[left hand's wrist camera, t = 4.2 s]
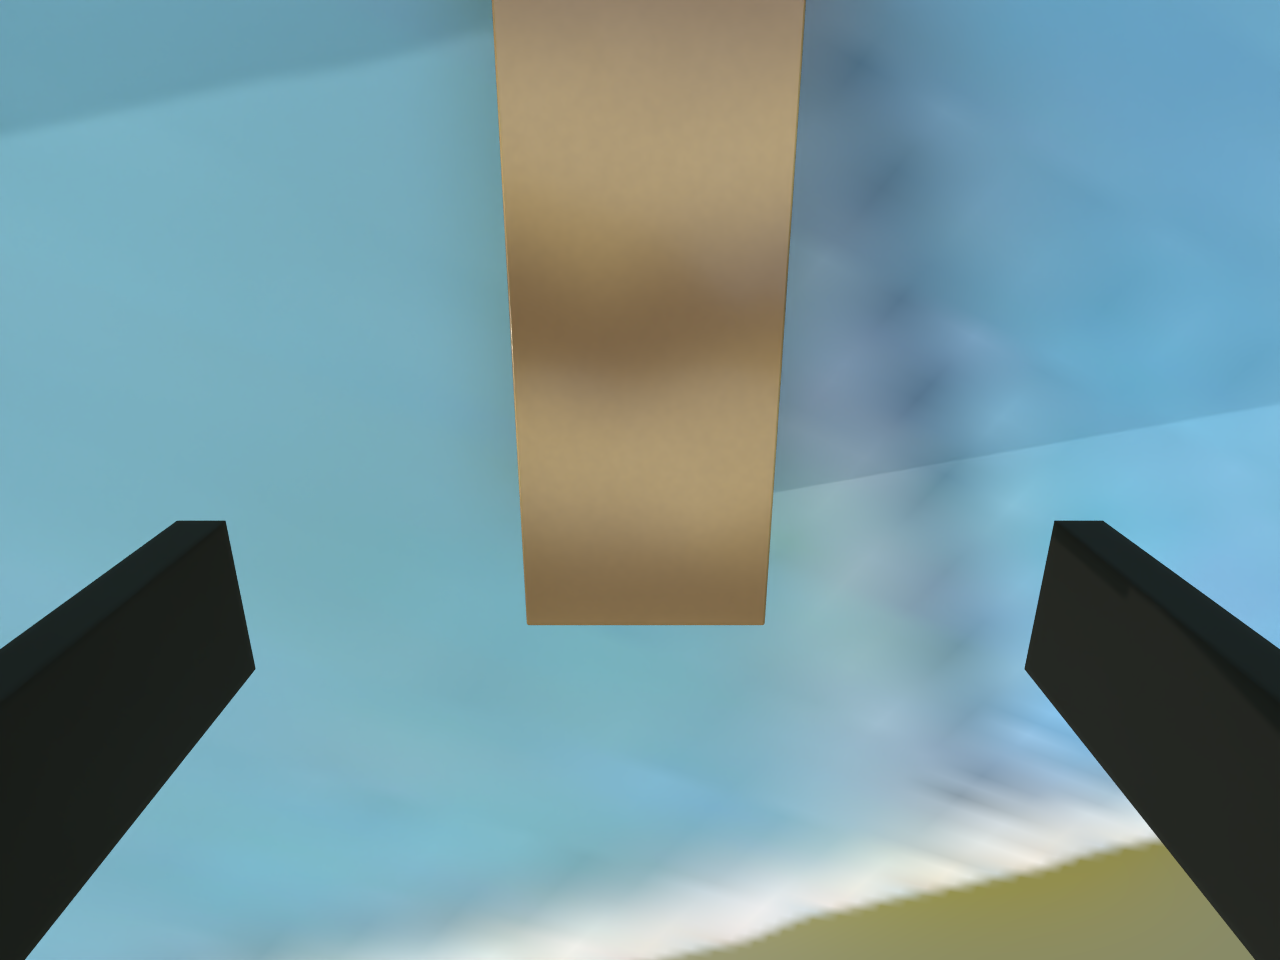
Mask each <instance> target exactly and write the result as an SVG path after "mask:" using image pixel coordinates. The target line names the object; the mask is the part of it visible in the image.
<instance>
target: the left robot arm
mask: <svg viewBox="0 0 1280 960" xmlns="http://www.w3.org/2000/svg"><path fill="white" fill-rule="evenodd" d="M254 670H255V664H254V659H253V654H252V649H251V644H250V639H249V635H248V630H247V625H246V620H245V615H244V610H243V605H242V600H241V595H240V590H239V585H238V580H237V575H236V570H235V565H234V560H233V555H232V551H231V546H230V541H229V536H228V531H227V526H226V521H176V522H175V523H173V524H172V525H171V526H169V527H168V528H166V529H165V530H164V531H162V532H161V533H160V534H158V535H157V536H155V537H154V538H153V539H151V540H150V541H149V542H147V543H146V544H144V545H143V546H142V547H140V548H139V549H138V550H136V551H135V552H133V553H132V554H131V555H129V556H128V557H127V558H125V559H124V560H122V561H121V562H120V563H118V564H117V565H116V566H114V567H113V568H111V569H110V570H109V571H107V572H106V573H105V574H103V575H102V576H100V577H99V578H98V579H96V580H95V581H94V582H92V583H91V584H89V585H88V586H87V587H85V588H84V589H82V590H81V591H80V592H78V593H77V594H76V595H74V596H73V597H71V598H70V599H69V600H67V601H66V602H65V603H63V604H62V605H60V606H59V607H58V608H56V609H55V610H54V611H52V612H51V613H49V614H48V615H47V616H45V617H44V618H43V619H41V620H40V621H38V622H37V623H36V624H34V625H33V626H32V627H30V628H29V629H27V630H26V631H25V632H23V633H22V634H21V635H19V636H18V637H16V638H15V639H14V640H12V641H11V642H10V643H8V644H7V645H5V646H4V647H3V648H1V649H0V960H25V959H26V958H27V956H28V955H29V954H30V953H31V951H32V950H33V949H34V947H35V946H36V945H37V944H38V942H39V941H40V940H41V939H42V937H43V936H44V935H45V934H46V932H47V931H48V930H49V929H50V927H51V926H52V925H53V924H54V922H55V921H56V920H57V919H58V917H59V916H60V915H61V913H62V912H63V911H64V910H65V908H66V907H67V906H68V905H69V903H70V902H71V901H72V900H73V898H74V897H75V896H76V895H77V893H78V892H79V891H80V890H81V888H82V887H83V886H84V884H85V883H86V882H87V881H88V879H89V878H90V877H91V876H92V874H93V873H94V872H95V871H96V869H97V868H98V867H99V866H100V864H101V863H102V862H103V861H104V859H105V858H106V857H107V856H108V854H109V853H110V852H111V850H112V849H113V848H114V847H115V845H116V844H117V843H118V842H119V840H120V839H121V838H122V837H123V835H124V834H125V833H126V832H127V830H128V829H129V828H130V827H131V825H132V824H133V823H134V821H135V820H136V819H137V818H138V816H139V815H140V814H141V813H142V811H143V810H144V809H145V808H146V806H147V805H148V804H149V803H150V801H151V800H152V799H153V798H154V796H155V795H156V794H157V792H158V791H159V790H160V789H161V787H162V786H163V785H164V784H165V782H166V781H167V780H168V779H169V777H170V776H171V775H172V774H173V772H174V771H175V770H176V769H177V767H178V766H179V765H180V764H181V762H182V761H183V760H184V758H185V757H186V756H187V755H188V753H189V752H190V751H191V750H192V748H193V747H194V746H195V745H196V743H197V742H198V741H199V740H200V738H201V737H202V736H203V735H204V733H205V732H206V731H207V729H208V728H209V727H210V726H211V724H212V723H213V722H214V721H215V719H216V718H217V717H218V716H219V714H220V713H221V712H222V711H223V709H224V708H225V707H226V706H227V704H228V703H229V702H230V701H231V699H232V698H233V697H234V695H235V694H236V693H237V692H238V690H239V689H240V688H241V687H242V685H243V684H244V683H245V682H246V680H247V679H248V678H249V677H250V675H251V674H252V673H253V672H254ZM1025 670H1026V672H1027V673H1028V674H1029V675H1030V677H1031V678H1032V679H1033V680H1034V682H1035V683H1036V684H1037V685H1038V687H1039V688H1040V689H1041V690H1042V692H1043V693H1044V694H1045V695H1046V697H1047V698H1048V699H1049V701H1050V702H1051V703H1052V704H1053V706H1054V707H1055V708H1056V709H1057V711H1058V712H1059V713H1060V714H1061V716H1062V717H1063V718H1064V719H1065V721H1066V722H1067V723H1068V724H1069V726H1070V727H1071V728H1072V729H1073V731H1074V732H1075V733H1076V735H1077V736H1078V737H1079V738H1080V740H1081V741H1082V742H1083V743H1084V745H1085V746H1086V747H1087V748H1088V750H1089V751H1090V752H1091V753H1092V755H1093V756H1094V757H1095V758H1096V760H1097V761H1098V762H1099V764H1100V765H1101V766H1102V767H1103V769H1104V770H1105V771H1106V772H1107V774H1108V775H1109V776H1110V777H1111V779H1112V780H1113V781H1114V782H1115V784H1116V785H1117V786H1118V787H1119V789H1120V790H1121V791H1122V792H1123V794H1124V795H1125V796H1126V798H1127V799H1128V800H1129V801H1130V803H1131V804H1132V805H1133V806H1134V808H1135V809H1136V810H1137V811H1138V813H1139V814H1140V815H1141V816H1142V818H1143V819H1144V820H1145V821H1146V823H1147V824H1148V825H1149V827H1150V828H1151V829H1152V830H1153V832H1154V833H1155V834H1156V835H1157V837H1158V838H1159V839H1160V840H1161V842H1162V843H1163V844H1164V845H1165V847H1166V848H1167V849H1168V850H1169V852H1170V853H1171V854H1172V856H1173V857H1174V858H1175V859H1176V861H1177V862H1178V863H1179V864H1180V866H1181V867H1182V868H1183V869H1184V871H1185V872H1186V873H1187V874H1188V876H1189V877H1190V878H1191V879H1192V881H1193V882H1194V883H1195V884H1196V886H1197V887H1198V888H1199V889H1200V891H1201V892H1202V893H1203V895H1204V896H1205V897H1206V898H1207V900H1208V901H1209V902H1210V903H1211V905H1212V906H1213V907H1214V908H1215V910H1216V911H1217V912H1218V913H1219V915H1220V916H1221V917H1222V918H1223V920H1224V921H1225V922H1226V924H1227V925H1228V926H1229V927H1230V929H1231V930H1232V931H1233V932H1234V934H1235V935H1236V936H1237V937H1238V939H1239V940H1240V941H1241V942H1242V944H1243V945H1244V946H1245V947H1246V949H1247V950H1248V951H1249V953H1250V954H1251V955H1252V956H1253V958H1254V959H1255V960H1280V649H1279V648H1277V647H1276V646H1275V645H1273V644H1272V643H1270V642H1269V641H1268V640H1266V639H1265V638H1264V637H1262V636H1261V635H1259V634H1258V633H1257V632H1255V631H1254V630H1253V629H1251V628H1250V627H1248V626H1247V625H1246V624H1244V623H1243V622H1242V621H1240V620H1239V619H1237V618H1236V617H1235V616H1233V615H1232V614H1231V613H1229V612H1228V611H1226V610H1225V609H1224V608H1222V607H1221V606H1220V605H1218V604H1217V603H1215V602H1214V601H1213V600H1211V599H1210V598H1209V597H1207V596H1206V595H1204V594H1203V593H1202V592H1200V591H1199V590H1198V589H1196V588H1195V587H1193V586H1192V585H1191V584H1189V583H1188V582H1186V581H1185V580H1184V579H1182V578H1181V577H1180V576H1178V575H1177V574H1175V573H1174V572H1173V571H1171V570H1170V569H1169V568H1167V567H1166V566H1164V565H1163V564H1162V563H1160V562H1159V561H1158V560H1156V559H1155V558H1153V557H1152V556H1151V555H1149V554H1148V553H1147V552H1145V551H1144V550H1142V549H1141V548H1140V547H1138V546H1137V545H1136V544H1134V543H1133V542H1131V541H1130V540H1129V539H1127V538H1126V537H1125V536H1123V535H1122V534H1120V533H1119V532H1118V531H1116V530H1115V529H1114V528H1112V527H1111V526H1109V525H1108V524H1107V523H1105V522H1104V521H1054V526H1053V531H1052V536H1051V541H1050V546H1049V551H1048V555H1047V560H1046V565H1045V570H1044V575H1043V580H1042V585H1041V590H1040V595H1039V600H1038V605H1037V610H1036V615H1035V620H1034V625H1033V630H1032V635H1031V639H1030V644H1029V649H1028V654H1027V659H1026V664H1025Z"/></svg>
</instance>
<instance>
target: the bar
mask: <svg viewBox="0 0 1280 960" xmlns="http://www.w3.org/2000/svg"><path fill="white" fill-rule="evenodd" d="M805 7H806V0H492V14H493V32H494V49H495V67H496V85H497V103H498V120H499V138H500V156H501V174H502V191H503V209H504V227H505V245H506V262H507V280H508V298H509V316H510V333H511V351H512V369H513V387H514V404H515V422H516V440H517V458H518V475H519V493H520V511H521V528H522V546H523V564H524V582H525V600H526V617H527V624H528V625H764V623H765V610H766V595H767V580H768V565H769V550H770V535H771V520H772V504H773V489H774V474H775V459H776V444H777V429H778V414H779V399H780V384H781V369H782V354H783V339H784V324H785V309H786V293H787V278H788V263H789V248H790V233H791V218H792V203H793V188H794V173H795V158H796V143H797V128H798V113H799V98H800V82H801V67H802V52H803V37H804V22H805Z"/></svg>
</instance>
